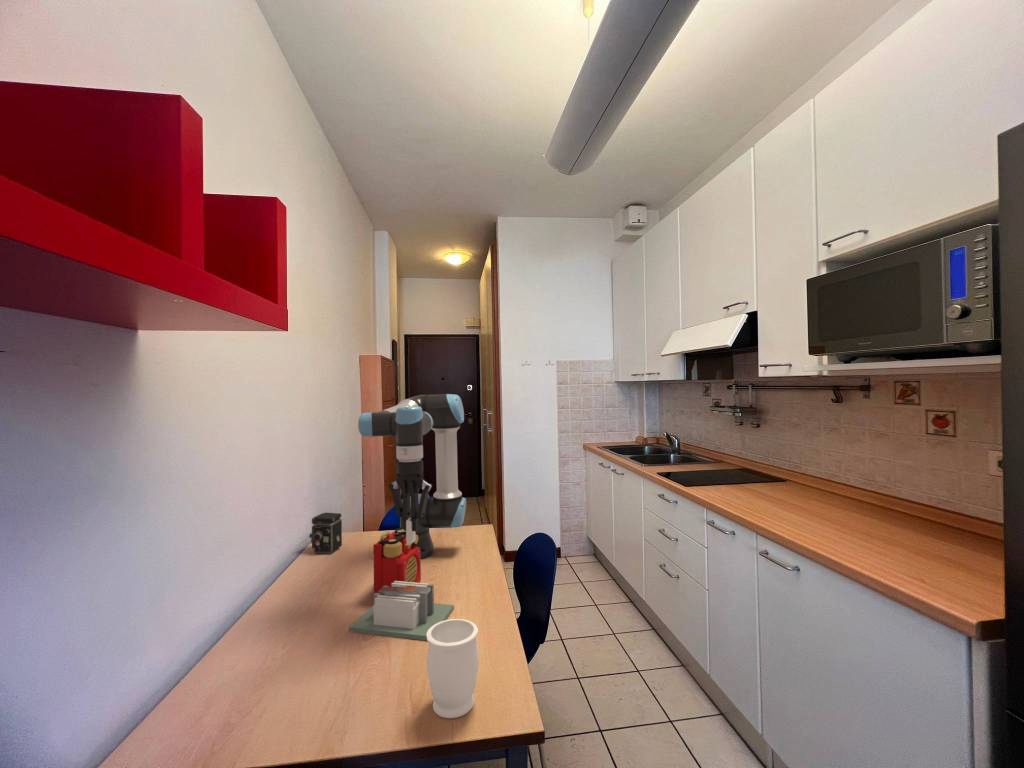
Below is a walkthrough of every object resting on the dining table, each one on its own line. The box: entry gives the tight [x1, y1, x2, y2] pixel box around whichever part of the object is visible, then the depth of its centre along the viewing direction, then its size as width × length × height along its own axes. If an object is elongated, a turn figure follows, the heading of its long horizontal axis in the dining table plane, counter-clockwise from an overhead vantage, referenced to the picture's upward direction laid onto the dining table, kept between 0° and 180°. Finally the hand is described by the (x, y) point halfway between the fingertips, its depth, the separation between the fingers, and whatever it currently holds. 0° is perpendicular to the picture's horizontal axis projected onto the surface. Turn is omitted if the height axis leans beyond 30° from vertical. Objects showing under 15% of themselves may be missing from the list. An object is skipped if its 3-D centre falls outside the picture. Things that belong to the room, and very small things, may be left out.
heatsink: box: [348, 581, 455, 642], centre depth 123 cm, size 24×17×9 cm
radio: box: [373, 527, 422, 595], centre depth 141 cm, size 16×10×20 cm, turn 168°
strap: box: [378, 586, 431, 595], centre depth 123 cm, size 15×3×2 cm, turn 77°
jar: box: [426, 618, 480, 719], centre depth 89 cm, size 11×10×15 cm
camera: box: [309, 512, 343, 555], centre depth 179 cm, size 10×10×15 cm
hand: (411, 541), depth 123 cm, fingers closed
